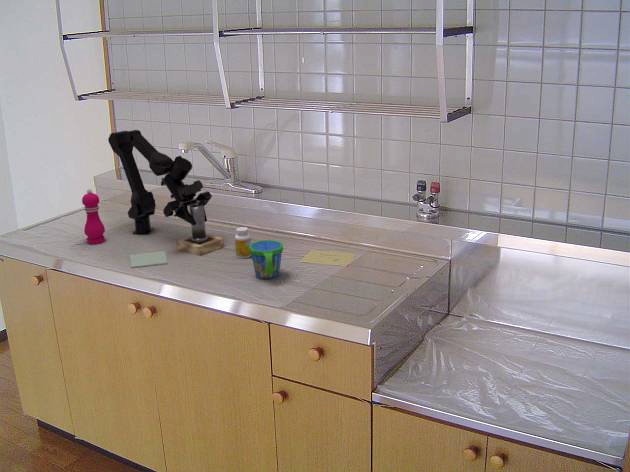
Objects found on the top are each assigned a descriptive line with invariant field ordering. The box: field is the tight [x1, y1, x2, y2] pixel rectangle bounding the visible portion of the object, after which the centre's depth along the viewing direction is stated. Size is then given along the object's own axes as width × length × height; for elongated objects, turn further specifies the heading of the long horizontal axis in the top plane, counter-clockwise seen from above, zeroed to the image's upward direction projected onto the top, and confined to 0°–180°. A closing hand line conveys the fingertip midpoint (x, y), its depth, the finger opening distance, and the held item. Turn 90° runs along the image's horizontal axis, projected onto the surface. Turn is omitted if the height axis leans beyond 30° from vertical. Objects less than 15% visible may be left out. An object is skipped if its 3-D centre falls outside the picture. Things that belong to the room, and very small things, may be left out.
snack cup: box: [249, 239, 284, 280], centre depth 219 cm, size 16×10×10 cm
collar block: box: [176, 233, 225, 257], centre depth 248 cm, size 12×12×3 cm
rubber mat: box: [129, 250, 169, 269], centre depth 237 cm, size 12×12×1 cm
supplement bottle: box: [234, 226, 252, 259], centre depth 237 cm, size 5×5×10 cm
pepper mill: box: [81, 188, 106, 245], centre depth 254 cm, size 7×7×20 cm
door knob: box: [189, 204, 208, 244], centre depth 245 cm, size 6×6×12 cm
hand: (200, 223), depth 244 cm, fingers closed on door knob, 5 cm apart
